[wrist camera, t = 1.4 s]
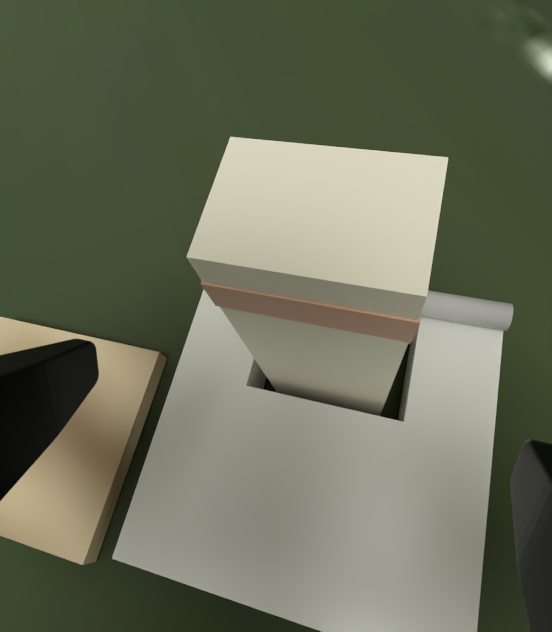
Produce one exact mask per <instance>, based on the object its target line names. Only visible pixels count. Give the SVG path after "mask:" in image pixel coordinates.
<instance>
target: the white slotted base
mask: <svg viewBox="0 0 552 632" xmlns="http://www.w3.org/2000/svg"><path fill="white" fill-rule="evenodd" d="M512 316H513V305H512V304H509V303H503V302H496V301H490V300H484V299H478V298H472V297H465V296H459V295H453V294H447V293H441V292H434V291H428V293H427V298H426V300H425V303H424V305H423V308H422V313H421V319H420V324H419V327H418V329H417V331H416V334H415V336H414V339H413V341H412V343H408V344H410V347H409V353H408V360H407V366H406V372H405V378H404V384H403V391H402V397H401V403H400V409H399V415H398V420H394V419H390V418H385V417H381V416H377V415H372V414H368V413H363V412H359V411H355V410H350V409H346V408H342V407H337V406H333V405H329V404H324V403H320V402H315V401H311V400H307V399H302V398H298V397H294V396H289V395H285V394H280V393H276V392H272V391H267V390H263V388H264V385H265V381H266V375H265V374H264V372H263V371H262V369H261V368H260V366H259V365H258V363H257V362H256V360H255V359H254V357H253V356H252V354H251V353H250V351H249V350H248V348H247V347H246V345H245V344H244V342H243V341H242V339H241V338H240V336H239V335H238V333H237V332H236V330H235V329H234V327H233V326H232V325H231V323H230V322H229V320H228V319H227V317H226V316H225V314H224V313H223V311H222V310H221V308H220V307H218V306H215V304H214V303H213V302H212V300H211V299H210V297H209V296H208V294H207V293H206V291H205V290H203V293H202V296H201V299H200V302H199V305H198V308H197V310H196V313H195V316H194V319H193V322H192V325H191V328H190V331H189V334H188V337H187V340H186V343H185V346H184V349H183V351H182V354H181V357H180V360H179V363H178V366H177V369H176V372H175V375H174V378H173V381H172V384H171V387H170V390H169V392H168V395H167V398H166V401H165V404H164V407H163V410H162V413H161V416H160V419H159V422H158V425H157V428H156V431H155V434H154V436H153V439H152V442H151V445H150V448H149V451H148V454H147V457H146V460H145V463H144V466H143V469H142V472H141V475H140V477H139V480H138V483H137V486H136V489H135V492H134V495H133V498H132V501H131V504H130V507H129V510H128V513H127V516H126V518H125V521H124V524H123V527H122V530H121V533H120V536H119V539H118V542H117V545H116V548H115V551H114V554H113V557H112V559H115V560H117V561H120V562H123V563H126V564H129V565H132V566H135V567H138V568H140V569H143V570H146V571H149V572H152V573H155V574H158V575H161V576H163V577H166V578H169V579H172V580H175V581H178V582H181V583H184V584H186V585H189V586H192V587H195V588H198V589H201V590H204V591H207V592H209V593H212V594H215V595H218V596H221V597H224V598H227V599H230V600H232V601H235V602H238V603H241V604H244V605H247V606H250V607H253V608H255V609H258V610H261V611H264V612H267V613H270V614H273V615H275V616H278V617H281V618H284V619H287V620H290V621H293V622H296V623H298V624H301V625H304V626H307V627H310V628H313V629H316V630H319V631H321V632H477V625H478V613H479V602H480V590H481V579H482V568H483V556H484V545H485V533H486V522H487V511H488V499H489V488H490V476H491V465H492V453H493V442H494V431H495V419H496V408H497V396H498V385H499V374H500V362H501V351H502V339H503V330H504V331H507V330H508V328H509V326H510V324H511V321H512Z"/></svg>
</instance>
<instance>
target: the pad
mask: <svg viewBox="0 0 552 632" xmlns="http://www.w3.org/2000/svg"><path fill="white" fill-rule="evenodd" d="M71 339H82V340H87V341H91V342H93V343H94V344H95V346H96V351H97V360H98V369H99V377H98V380H97V383H96V384H95V386H94V387H93V389H92V390H91V391H90V393H89V394H88V396H87V397H86V398H85V400H84V401H83V402H82V404H81V405H80V407H79V408H78V409H77V411H76V412H75V413H74V415H73V416H72V418H71V419H70V420H69V422H68V423H67V424H66V426H65V427H64V428H63V430H62V431H61V432H60V434H59V435H58V436H57V437H56V439H55V440H54V441H53V442H52V443H51V445H50V446H49V447H48V448H47V449H46V450H45V451H44V453H43V454H42V455H41V456H40V457H39V458H38V459H37V460H36V462H35V463H34V464H33V465H32V466H31V467H30V468H29V469H28V471H27V472H26V473H25V474H24V475H23V476H22V477H21V478H20V480H19V481H18V482H17V483H16V484H15V485H14V486H13V488H12V489H11V490H10V491H9V492H8V493H7V494H6V495H5V497H4V498H3V499H2V500H1V501H0V536H3V537H5V538H8V539H11V540H14V541H17V542H19V543H22V544H25V545H28V546H31V547H33V548H36V549H39V550H42V551H45V552H47V553H50V554H53V555H56V556H59V557H61V558H64V559H67V560H70V561H73V562H75V563H78V564H81V565H85V564H89V563H93V562H96V560H97V557H98V554H99V551H100V549H101V546H102V543H103V540H104V537H105V534H106V531H107V529H108V526H109V523H110V520H111V517H112V514H113V512H114V509H115V506H116V503H117V500H118V497H119V494H120V492H121V489H122V486H123V483H124V480H125V477H126V475H127V472H128V469H129V466H130V463H131V460H132V457H133V455H134V452H135V449H136V446H137V443H138V440H139V438H140V435H141V432H142V429H143V426H144V423H145V421H146V418H147V415H148V412H149V409H150V406H151V403H152V401H153V398H154V395H155V392H156V389H157V386H158V384H159V381H160V378H161V375H162V372H163V369H164V366H165V364H166V361H167V358H166V357H165V356H164V355H163V354H161V353H160V352H157V351H152V350H148V349H143V348H139V347H134V346H130V345H125V344H121V343H116V342H112V341H107V340H103V339H98V338H94V337H89V336H85V335H80V334H75V333H71V332H66V331H62V330H57V329H53V328H48V327H44V326H39V325H35V324H30V323H26V322H21V321H17V320H12V319H8V318H3V317H0V355H3V354H8V353H12V352H17V351H21V350H26V349H30V348H35V347H39V346H44V345H48V344H53V343H57V342H62V341H66V340H71Z"/></svg>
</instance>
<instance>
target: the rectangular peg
mask: <svg viewBox="0 0 552 632" xmlns="http://www.w3.org/2000/svg"><path fill="white" fill-rule="evenodd" d="M447 163H448V157H437V156H427V155H416V154H406V153H395V152H385V151H374V150H363V149H353V148H342V147H332V146H321V145H311V144H300V143H290V142H279V141H269V140H258V139H248V138H237V137H230V140H229V142H228V145H227V148H226V150H225V153H224V156H223V159H222V161H221V164H220V167H219V170H218V172H217V175H216V178H215V181H214V183H213V186H212V189H211V191H210V194H209V197H208V200H207V202H206V205H205V208H204V211H203V213H202V216H201V219H200V222H199V224H198V227H197V230H196V233H195V235H194V238H193V241H192V243H191V246H190V249H189V252H188V254H187V259H188V260H189V262H190V263H191V265H192V266H193V268H194V269H195V271H196V272H197V274H198V275H199V277H200V278H201V280H202V281H201V286H202V287H203V288H204V290H205V291H206V293H207V294H208V296H209V297H210V299H211V300H212V302H213V303H214V304H215V306H218V307H220V308H221V310H222V311H223V313H224V314H225V316H226V317H227V319H228V320H229V322H230V323H231V325H232V326H233V327H234V329H235V330H236V332H237V333H238V335H239V336H240V338H241V339H242V341H243V342H244V344H245V345H246V347H247V348H248V350H249V351H250V353H251V354H252V356H253V357H254V359H255V360H256V362H257V363H258V365H259V366H260V368H261V369H262V371H263V372H264V374H265V375H266V377H267V378H268V380H269V381H270V383H271V384H272V386H273V387H274V389H275V390H276V392H277V393H280V394H285V395H289V396H294V397H298V398H302V399H307V400H311V401H315V402H320V403H324V404H329V405H333V406H337V407H342V408H346V409H350V410H355V411H359V412H363V413H368V414H372V415H377V416H380V414H381V412H382V409H383V407H384V404H385V402H386V399H387V397H388V394H389V391H390V389H391V386H392V384H393V381H394V379H395V376H396V374H397V371H398V369H399V366H400V364H401V361H402V359H403V356H404V353H405V351H406V348H407V346H408V343H412V341H413V339H414V336H415V334H416V331H417V329H418V327H419V324H420V319H421V313H422V308H423V305H424V303H425V300H426V298H427V293H428V286H429V280H430V273H431V267H432V260H433V254H434V247H435V241H436V234H437V228H438V221H439V215H440V208H441V202H442V195H443V189H444V182H445V176H446V169H447Z"/></svg>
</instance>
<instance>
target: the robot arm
mask: <svg viewBox="0 0 552 632" xmlns="http://www.w3.org/2000/svg"><path fill="white" fill-rule="evenodd" d="M98 377H99V369H98V360H97V351H96V346H95V344H94V343H93V342H91V341H87V340H82V339H71V340H66V341H62V342H57V343H53V344H48V345H44V346H39V347H35V348H30V349H26V350H21V351H17V352H12V353H8V354H3V355H0V501H1V500H2V499H3V498H4V497H5V495H6V494H7V493H8V492H9V491H10V490H11V489H12V488H13V486H14V485H15V484H16V483H17V482H18V481H19V480H20V478H21V477H22V476H23V475H24V474H25V473H26V472H27V471H28V469H29V468H30V467H31V466H32V465H33V464H34V463H35V462H36V460H37V459H38V458H39V457H40V456H41V455H42V454H43V453H44V451H45V450H46V449H47V448H48V447H49V446H50V445H51V443H52V442H53V441H54V440H55V439H56V437H57V436H58V435H59V434H60V432H61V431H62V430H63V428H64V427H65V426H66V424H67V423H68V422H69V420H70V419H71V418H72V416H73V415H74V413H75V412H76V411H77V409H78V408H79V407H80V405H81V404H82V402H83V401H84V400H85V398H86V397H87V396H88V394H89V393H90V391H91V390H92V389H93V387H94V386H95V384H96V383H97V380H98ZM511 498H512V511H513V523H514V536H515V549H516V559H517V568H518V573H519V579H520V584H521V589H522V594H523V599H524V604H525V609H526V614H527V619H528V624H529V629H530V632H552V444H549V443H545V442H540V441H536V440H527V441H526V442H525V443H524V445H523V447H522V449H521V452H520V454H519V457H518V460H517V462H516V465H515V467H514V470H513V473H512V476H511Z"/></svg>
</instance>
